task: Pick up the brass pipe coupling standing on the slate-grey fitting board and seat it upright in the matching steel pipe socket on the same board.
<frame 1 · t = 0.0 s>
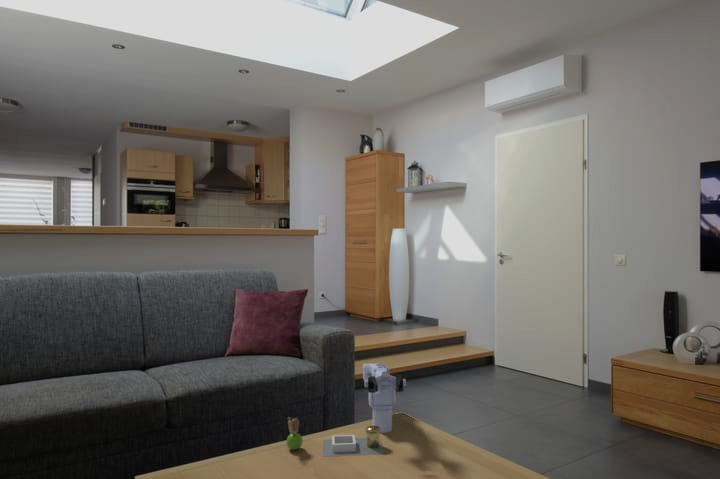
hand: (388, 388, 166), 22 cm above the table, tool horizontal, fingers open, 7 cm apart
fitting board: (352, 449, 169), on the table
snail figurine: (294, 450, 170), on the table
brass coupling: (373, 445, 170), point 1 cm above the table, touching fitting board
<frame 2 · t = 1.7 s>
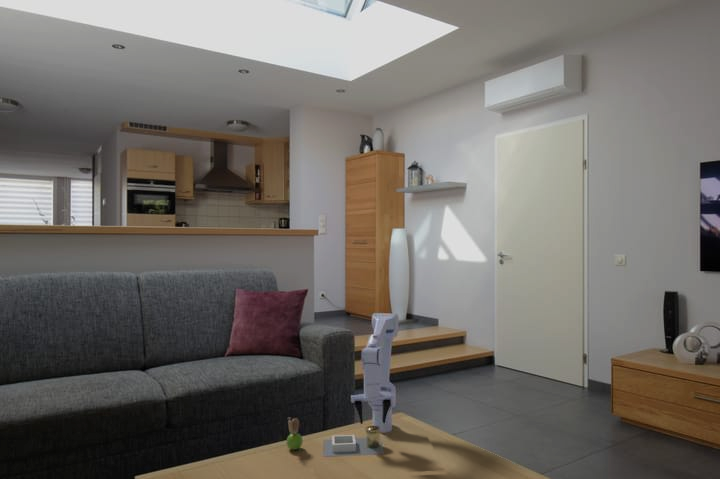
hand: (372, 422, 170), 9 cm above the table, tool pointing down, fingers open, 7 cm apart
nothing on the table moved.
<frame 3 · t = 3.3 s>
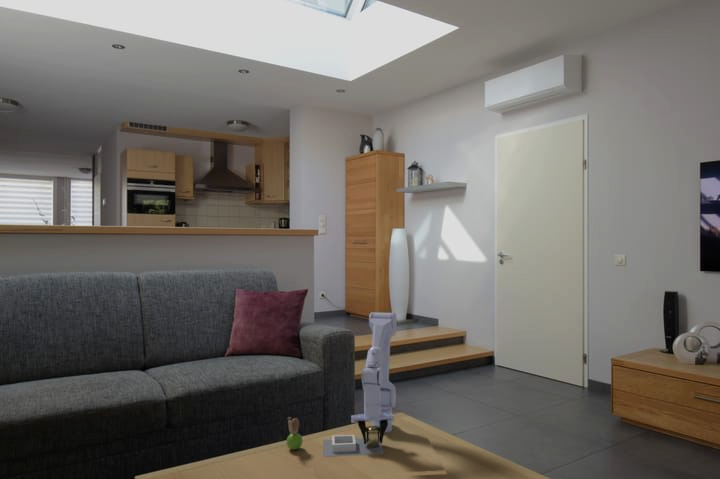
hand: (372, 442, 170), 2 cm above the table, tool pointing down, fingers closed on brass coupling, 5 cm apart
brass coupling: (373, 445, 170), point 1 cm above the table, touching fitting board, gripper
everything else where it was.
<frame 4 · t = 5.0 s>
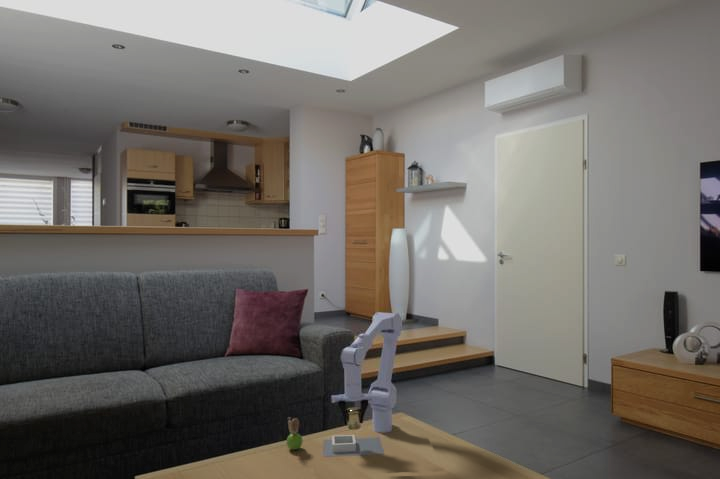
hand: (353, 422, 169), 9 cm above the table, tool pointing down, fingers closed on brass coupling, 5 cm apart
brass coupling: (354, 427, 169), point 8 cm above the table, touching gripper
everything else where it was.
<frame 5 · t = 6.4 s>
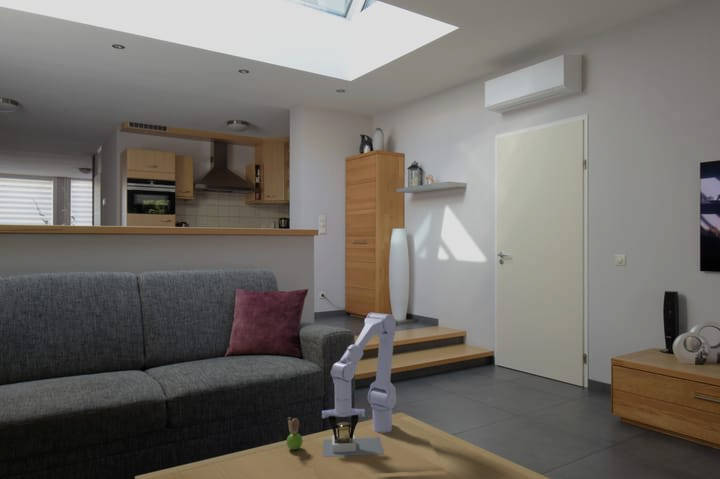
hand: (343, 437, 169), 4 cm above the table, tool pointing down, fingers closed on brass coupling, 5 cm apart
brass coupling: (344, 442, 169), point 3 cm above the table, touching gripper
everything else where it was.
when the fingers open (4 cm above the table, at t = 7.1 s): brass coupling drops 2 cm, resting on fitting board.
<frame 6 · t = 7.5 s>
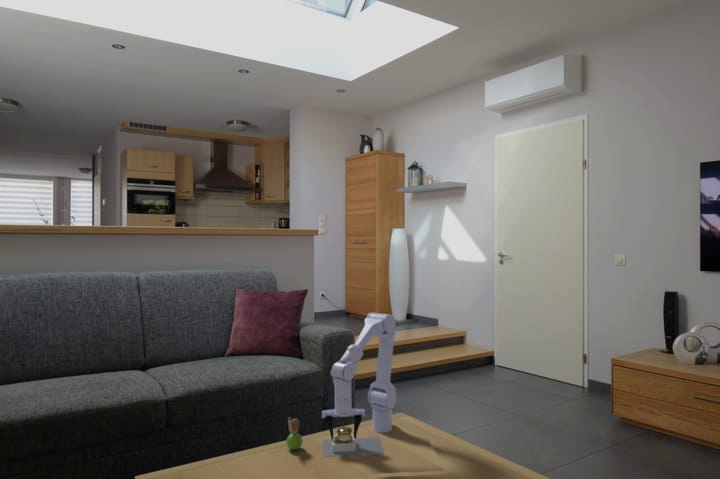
hand: (343, 437, 169), 4 cm above the table, tool pointing down, fingers open, 7 cm apart
brass coupling: (344, 447, 169), point 1 cm above the table, touching fitting board
everything else where it was.
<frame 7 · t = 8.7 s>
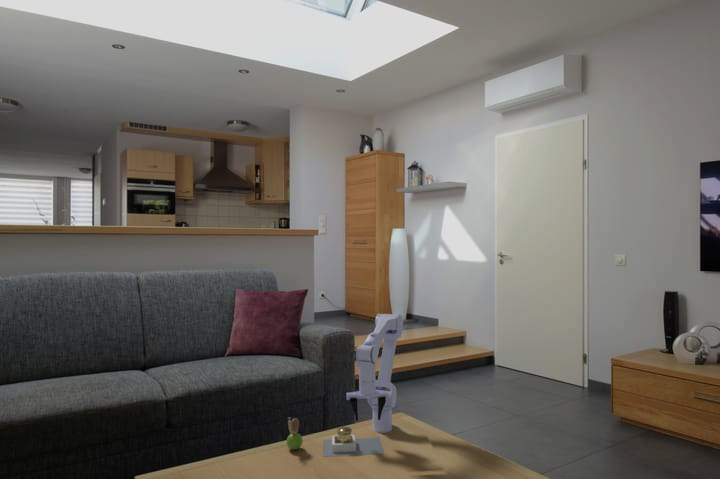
hand: (367, 419, 172), 9 cm above the table, tool pointing down, fingers open, 7 cm apart
nothing on the table moved.
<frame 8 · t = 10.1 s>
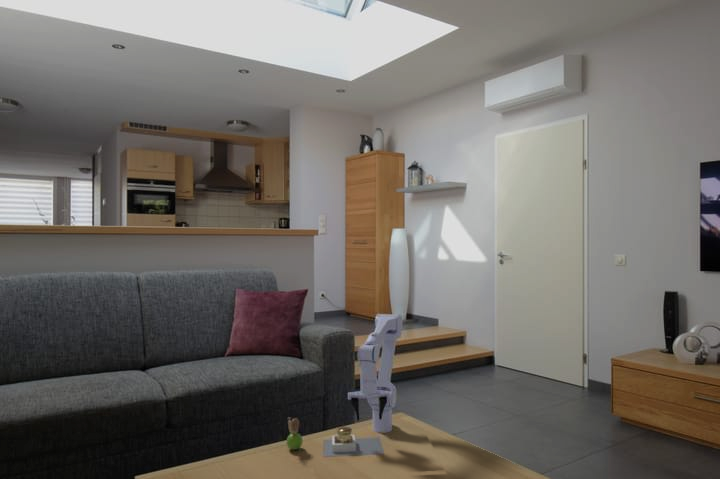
hand: (369, 419, 172), 9 cm above the table, tool pointing down, fingers open, 7 cm apart
nothing on the table moved.
at the end: brass coupling 0.3 cm from the target spot, point 1.0 cm above the table; brass coupling tilted 0°; the gripper is holding nothing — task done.
